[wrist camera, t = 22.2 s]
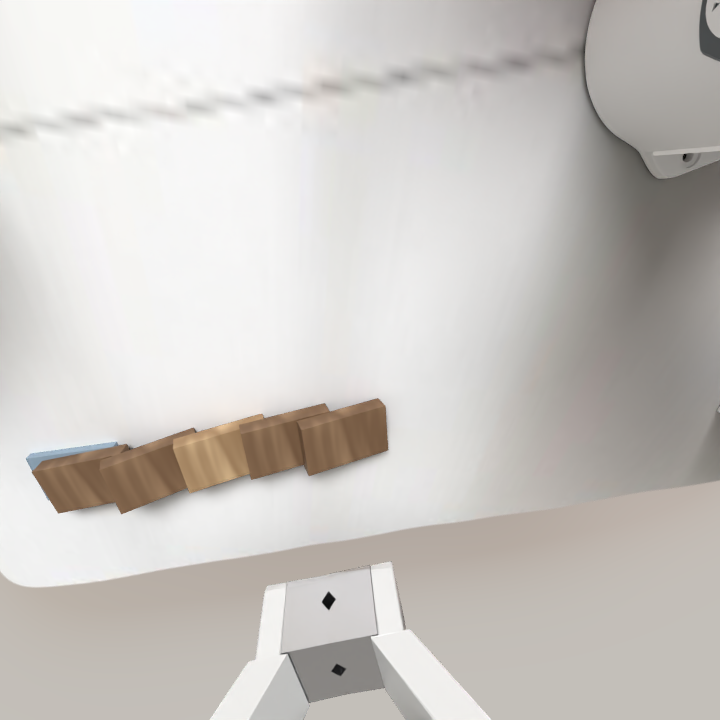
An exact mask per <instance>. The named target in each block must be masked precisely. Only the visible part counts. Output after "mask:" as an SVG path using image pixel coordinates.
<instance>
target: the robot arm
mask: <svg viewBox="0 0 720 720" xmlns="http://www.w3.org/2000/svg"><path fill="white" fill-rule="evenodd" d="M585 72H586V80H587V86H588V90H589V94H590V97H591V101H592V103H593V105H594V108H595V110H596V112H597V114H598V115H599V117H600V119H601V120H602V122H603V123H604V124H605V125H606V127H607V128H608V129H609V130H610V131H611V132H612V133H613V134H614V135H616V136H617V137H618V138H620V139H622V140H623V141H625V142H626V143H628V144H630V145H631V146H633V147H634V148H635V149H636V150H638V151H639V152H640V154H641V156H642V158H643V160H644V162H645V164H646V166H647V168H648V169H649V171H650V172H651V174H652V175H653V176H654V177H656V178H658V179H666V178H673V177H677V176H679V175H682V174H685V173H687V172H690V171H692V170H695V169H698V168H700V167H703V166H706V165H708V164H711V163H713V162H716V161H719V160H720V0H596V2H595V5H594V8H593V11H592V15H591V18H590V22H589V27H588V32H587V39H586V47H585ZM683 154H686V158H685V159H684V160H683ZM381 688H385V689H386V691H387V693H388V694H389V696H390V697H391V699H392V700H393V702H394V703H395V705H396V706H397V708H398V709H399V711H400V712H401V714H402V715H403V717H404V718H405V719H406V720H491V719H490V718H489V717H488V716H487V714H486V713H485V712H484V711H483V710H482V709H481V708H480V707H479V705H478V704H477V703H476V702H475V701H474V700H473V699H472V698H471V696H470V695H469V694H468V693H467V692H466V691H465V690H464V689H463V687H462V686H461V685H460V684H459V683H458V682H457V681H456V680H455V679H454V677H453V676H452V675H451V674H450V673H449V672H448V671H447V669H446V668H445V667H444V666H443V665H442V664H441V663H440V662H439V661H438V659H437V658H436V657H435V656H434V655H433V654H432V653H431V652H430V650H429V649H428V648H427V647H426V646H425V645H424V644H423V643H422V641H421V640H420V639H419V638H418V637H417V636H416V635H415V634H414V632H412V630H411V629H408V630H406V627H405V621H404V616H403V611H402V606H401V602H400V597H399V593H398V588H397V583H396V578H395V574H394V569H393V564H392V561H390V562H385V563H380V564H375V565H371V566H370V565H368V566H363V567H358V568H354V569H349V570H344V571H340V572H335V573H331V574H329V575H325V576H319V577H313V578H307V579H301V580H296V581H289V582H284V583H279V584H274V585H269V586H267V588H266V590H265V592H264V598H263V605H262V613H261V620H260V627H259V634H258V642H257V649H256V657H255V660H251V661H248V663H247V664H246V666H245V667H244V669H243V670H242V672H241V673H240V675H239V676H238V678H237V679H236V681H235V682H234V684H233V685H232V687H231V688H230V690H229V691H228V693H227V694H226V696H225V697H224V699H223V700H222V702H221V703H220V705H219V706H218V708H217V709H216V711H215V712H214V714H213V715H212V717H211V718H210V720H304V718H305V715H306V713H307V710H308V708H309V703H311V702H315V701H319V700H324V699H328V698H333V697H337V696H341V695H346V694H351V693H357V692H363V691H369V690H375V689H381Z"/></svg>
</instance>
